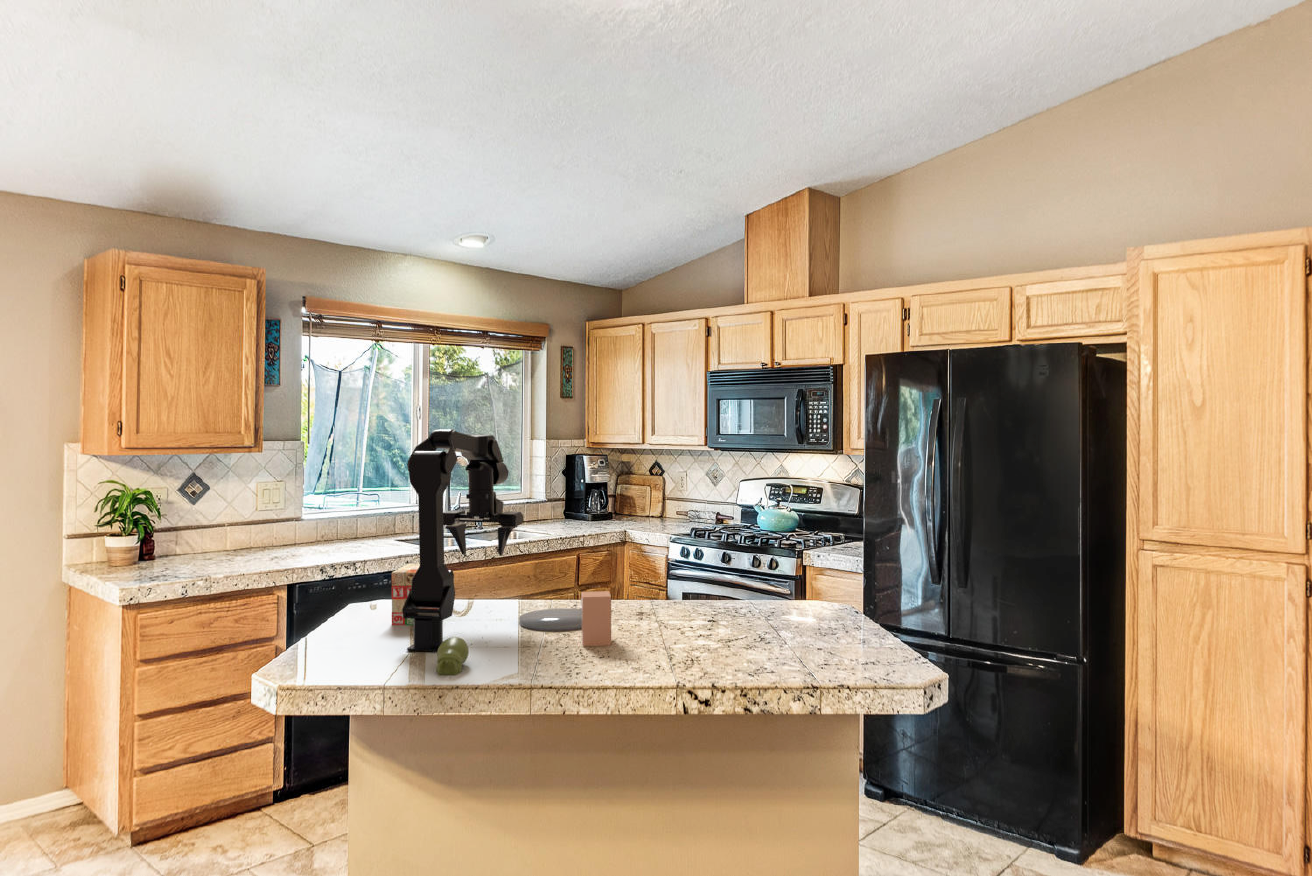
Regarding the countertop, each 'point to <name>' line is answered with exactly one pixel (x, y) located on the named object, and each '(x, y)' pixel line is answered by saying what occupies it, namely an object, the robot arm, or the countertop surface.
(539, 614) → the slate plate
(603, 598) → the tall clay pillar
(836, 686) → the countertop surface
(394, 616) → the stack of blocks
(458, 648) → the green rounded piece
